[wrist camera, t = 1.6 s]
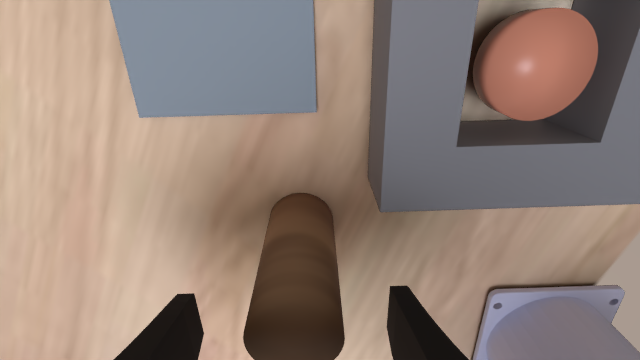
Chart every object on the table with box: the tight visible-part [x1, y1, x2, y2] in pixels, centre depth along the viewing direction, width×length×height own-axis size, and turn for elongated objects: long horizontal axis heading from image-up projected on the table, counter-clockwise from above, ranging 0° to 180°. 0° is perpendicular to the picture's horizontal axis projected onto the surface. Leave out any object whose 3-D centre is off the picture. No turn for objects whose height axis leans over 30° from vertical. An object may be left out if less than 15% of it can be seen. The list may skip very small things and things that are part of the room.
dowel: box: [243, 193, 345, 360], centre depth 15 cm, size 3×3×8 cm
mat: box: [109, 0, 317, 118], centre depth 14 cm, size 8×8×1 cm
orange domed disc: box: [473, 8, 598, 121], centre depth 12 cm, size 4×4×1 cm
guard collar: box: [368, 0, 640, 212], centre depth 13 cm, size 11×11×4 cm
